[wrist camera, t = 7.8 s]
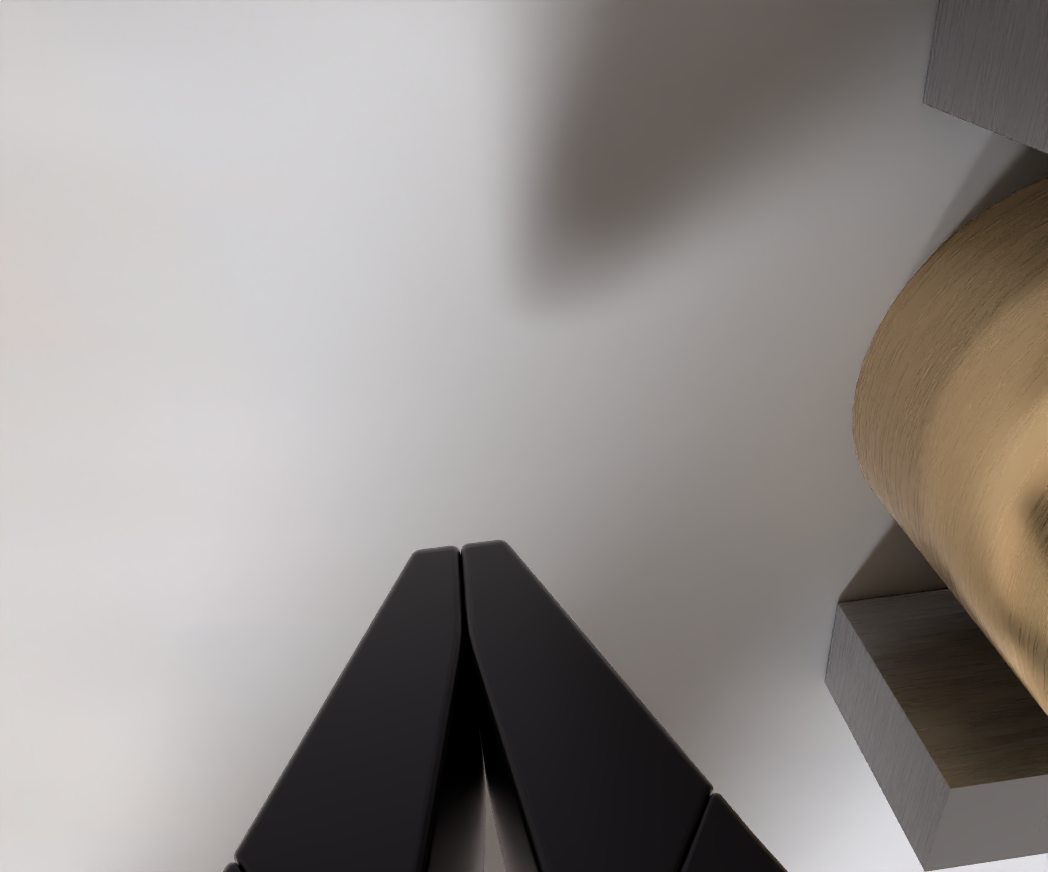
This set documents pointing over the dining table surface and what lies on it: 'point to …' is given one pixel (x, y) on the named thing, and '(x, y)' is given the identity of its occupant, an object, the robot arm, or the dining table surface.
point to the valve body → (937, 616)
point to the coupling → (972, 423)
